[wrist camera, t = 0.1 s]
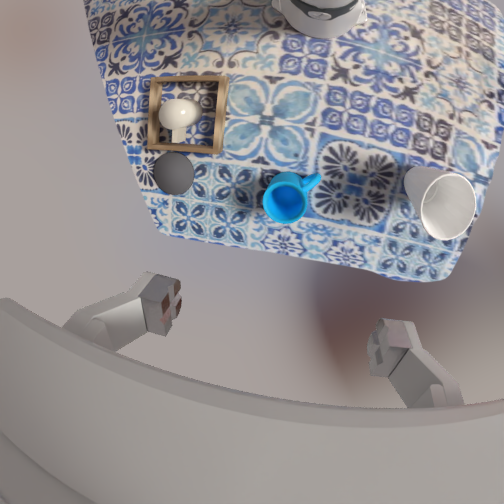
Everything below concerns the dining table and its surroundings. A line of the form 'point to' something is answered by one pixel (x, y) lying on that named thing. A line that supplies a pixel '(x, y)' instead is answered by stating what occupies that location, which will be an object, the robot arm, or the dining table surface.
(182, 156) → the grey oval disc
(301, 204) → the mug
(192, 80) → the holder
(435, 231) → the cup
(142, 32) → the dining table surface
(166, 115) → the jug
